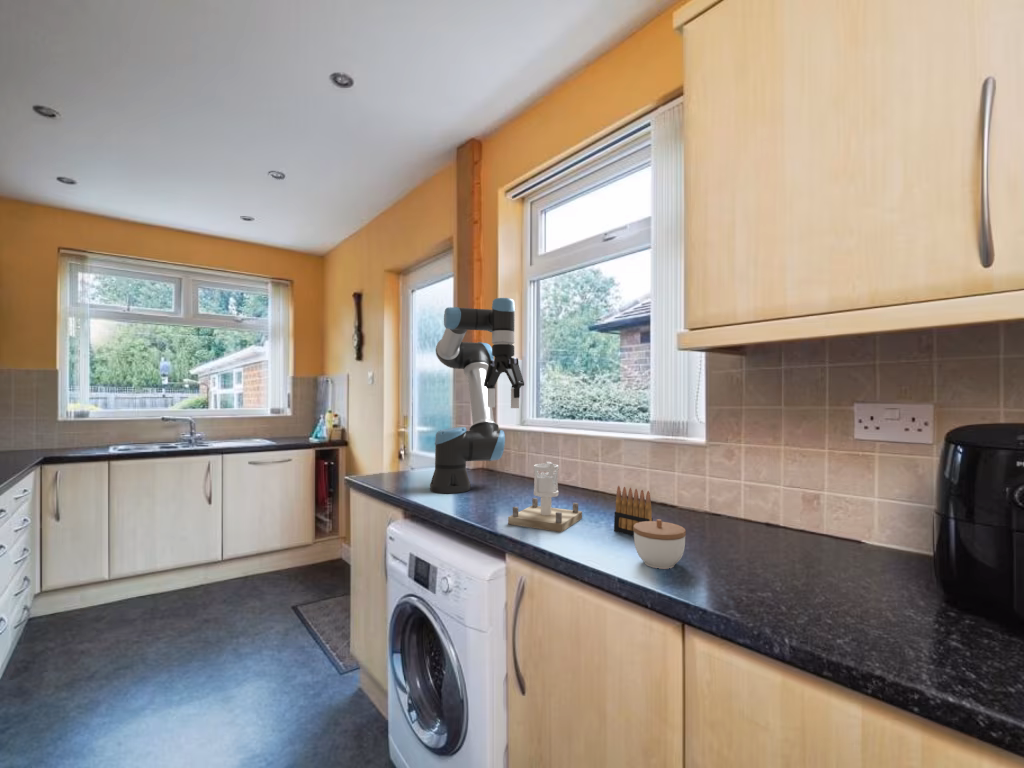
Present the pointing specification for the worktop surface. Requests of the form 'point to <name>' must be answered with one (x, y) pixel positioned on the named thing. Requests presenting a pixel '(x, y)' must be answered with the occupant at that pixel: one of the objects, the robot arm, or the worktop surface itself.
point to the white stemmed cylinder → (546, 485)
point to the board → (545, 517)
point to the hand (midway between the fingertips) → (502, 407)
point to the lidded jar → (659, 543)
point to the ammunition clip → (631, 510)
